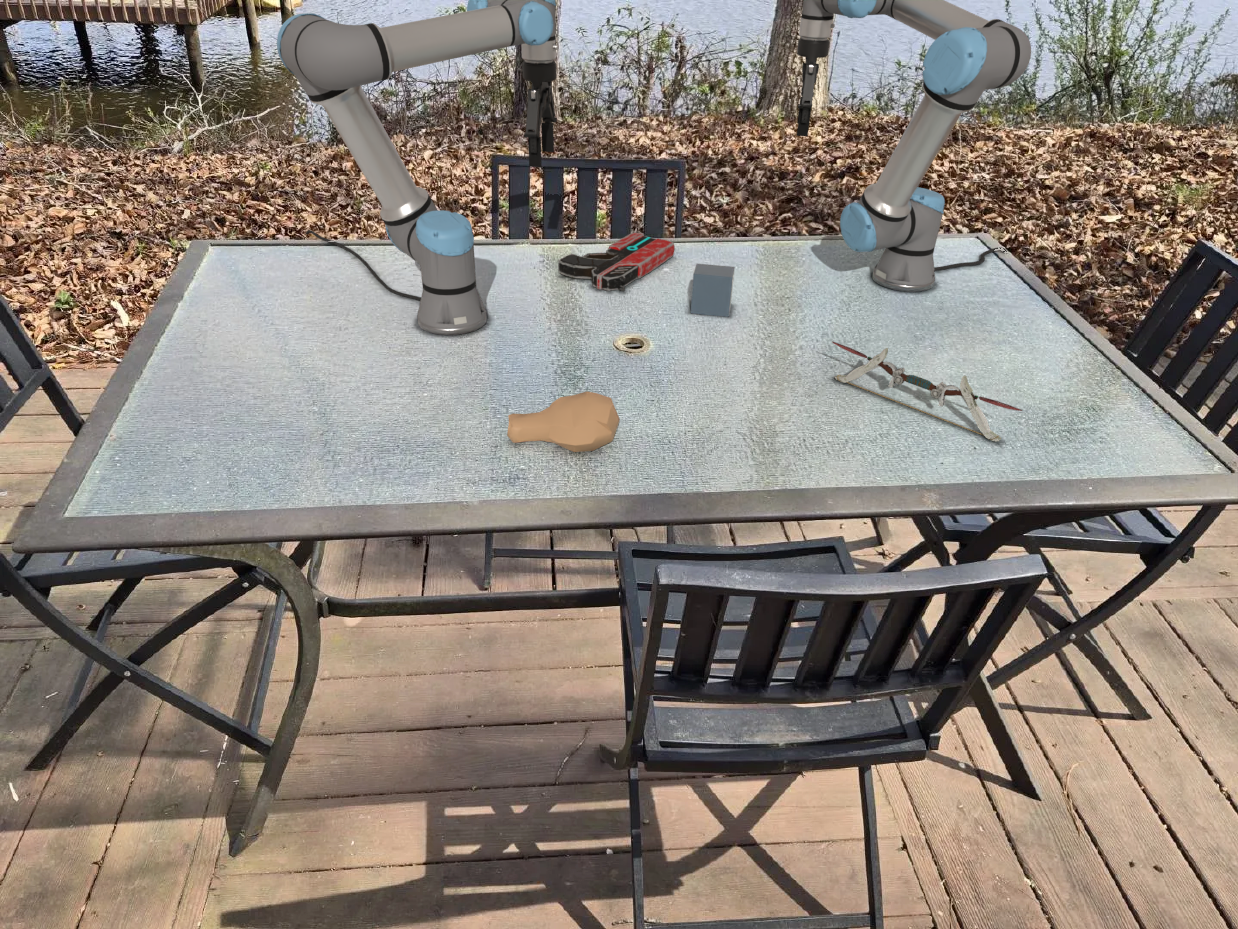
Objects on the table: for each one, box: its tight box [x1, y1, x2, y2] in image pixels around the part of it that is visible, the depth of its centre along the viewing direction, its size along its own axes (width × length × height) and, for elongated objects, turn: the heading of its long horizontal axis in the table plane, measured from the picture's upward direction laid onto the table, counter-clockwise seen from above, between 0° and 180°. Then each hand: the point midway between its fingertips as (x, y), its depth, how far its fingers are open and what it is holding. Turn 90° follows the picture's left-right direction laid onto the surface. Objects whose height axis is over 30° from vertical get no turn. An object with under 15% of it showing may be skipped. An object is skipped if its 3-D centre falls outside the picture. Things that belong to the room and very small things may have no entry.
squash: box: [506, 390, 621, 453], centre depth 154 cm, size 11×20×9 cm, turn 90°
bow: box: [831, 341, 1023, 443], centre depth 166 cm, size 39×2×10 cm, turn 47°
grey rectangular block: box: [689, 263, 736, 318], centre depth 204 cm, size 7×9×10 cm
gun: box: [557, 232, 676, 292], centre depth 225 cm, size 4×31×19 cm
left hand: (541, 158), depth 206 cm, fingers open, 13 cm apart
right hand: (802, 129), depth 224 cm, fingers open, 13 cm apart
